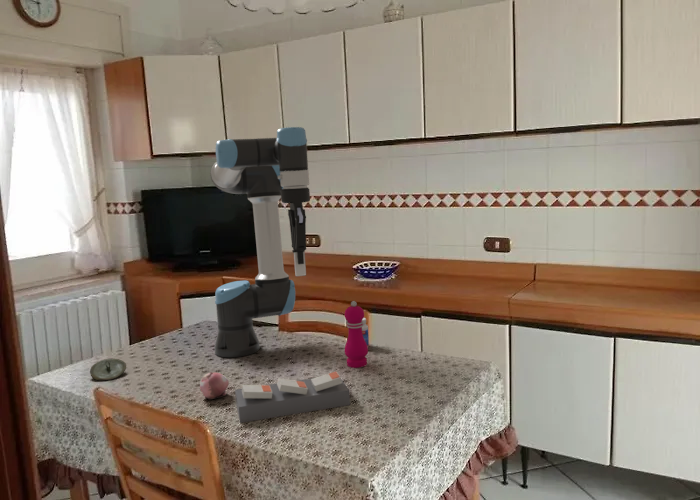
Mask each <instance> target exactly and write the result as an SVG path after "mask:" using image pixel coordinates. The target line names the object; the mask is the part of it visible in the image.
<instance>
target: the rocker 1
mask: <svg viewBox="0 0 700 500" xmlns="http://www.w3.org/2000/svg"><path fill="white" fill-rule="evenodd" d="M241 389H242V394H243V398H269V399H272V390H271V387H270V384H242V385H241Z"/></svg>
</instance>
